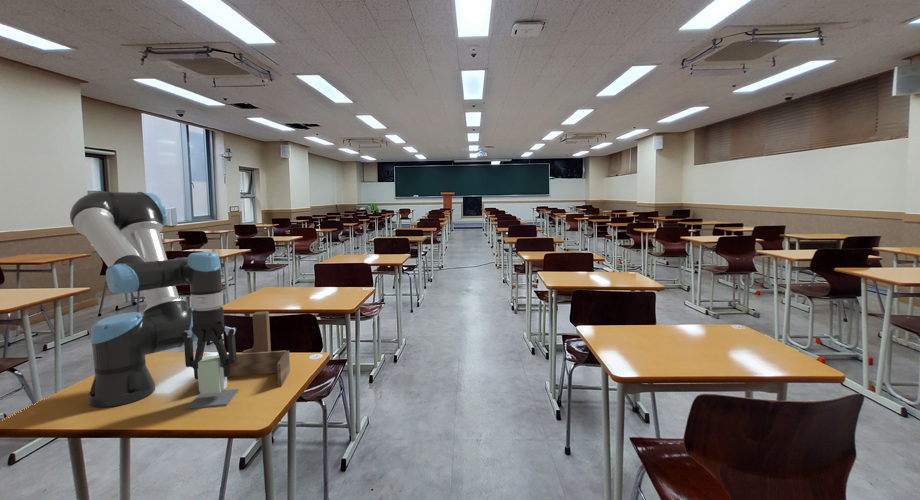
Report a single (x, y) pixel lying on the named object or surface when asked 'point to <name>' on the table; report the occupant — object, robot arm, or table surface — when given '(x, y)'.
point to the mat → (213, 399)
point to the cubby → (262, 364)
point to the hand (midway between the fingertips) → (213, 388)
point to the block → (210, 374)
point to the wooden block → (260, 333)
